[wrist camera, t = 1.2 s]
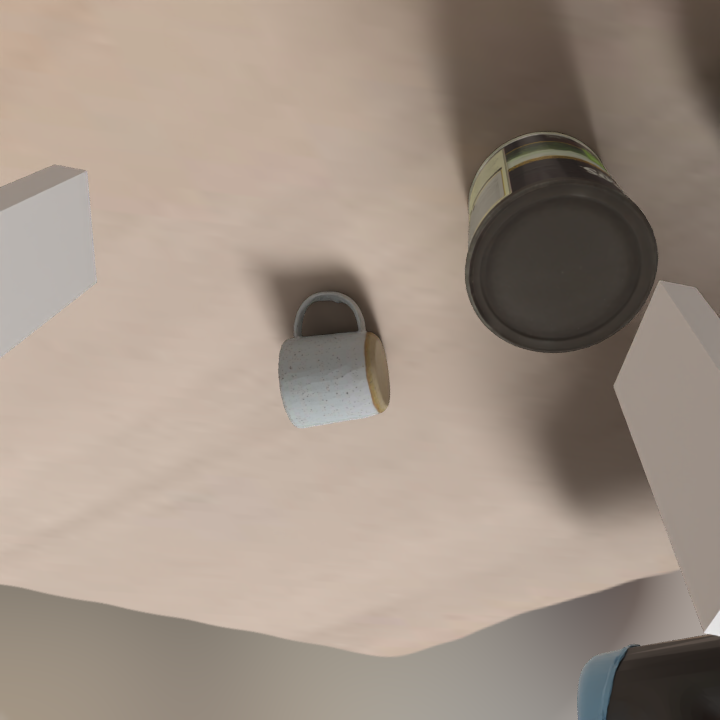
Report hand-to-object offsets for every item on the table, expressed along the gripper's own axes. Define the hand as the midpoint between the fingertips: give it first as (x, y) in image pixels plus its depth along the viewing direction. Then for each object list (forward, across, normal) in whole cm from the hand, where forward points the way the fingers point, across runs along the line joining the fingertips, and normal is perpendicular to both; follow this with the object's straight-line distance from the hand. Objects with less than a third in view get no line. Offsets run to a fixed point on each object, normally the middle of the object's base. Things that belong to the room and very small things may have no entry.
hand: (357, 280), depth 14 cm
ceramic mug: (+35, +4, +22) cm, 42 cm away
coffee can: (+35, -9, +7) cm, 37 cm away
